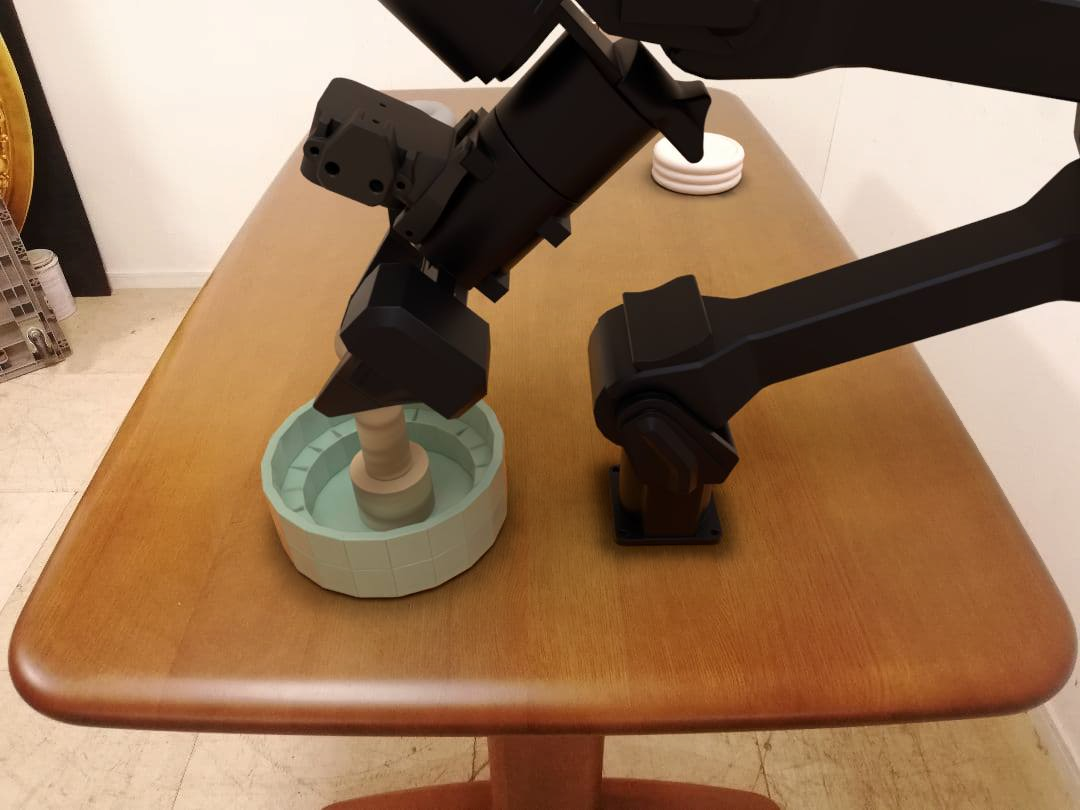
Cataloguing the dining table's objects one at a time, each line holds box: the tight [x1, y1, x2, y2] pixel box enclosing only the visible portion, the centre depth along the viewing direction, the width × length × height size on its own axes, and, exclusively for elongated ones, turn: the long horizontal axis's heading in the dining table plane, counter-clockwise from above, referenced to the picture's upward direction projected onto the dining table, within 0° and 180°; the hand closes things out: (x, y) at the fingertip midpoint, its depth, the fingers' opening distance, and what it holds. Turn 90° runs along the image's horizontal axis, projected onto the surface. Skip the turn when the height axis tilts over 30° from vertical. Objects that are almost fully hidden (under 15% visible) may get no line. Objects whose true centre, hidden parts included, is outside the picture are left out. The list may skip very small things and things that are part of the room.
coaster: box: [651, 131, 746, 195], centre depth 87 cm, size 10×10×4 cm
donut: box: [404, 99, 458, 127], centre depth 98 cm, size 10×3×10 cm
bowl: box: [260, 395, 508, 598], centre depth 48 cm, size 14×14×6 cm
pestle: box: [333, 323, 435, 532], centre depth 45 cm, size 5×5×14 cm
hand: (339, 355), depth 42 cm, fingers open, 9 cm apart
